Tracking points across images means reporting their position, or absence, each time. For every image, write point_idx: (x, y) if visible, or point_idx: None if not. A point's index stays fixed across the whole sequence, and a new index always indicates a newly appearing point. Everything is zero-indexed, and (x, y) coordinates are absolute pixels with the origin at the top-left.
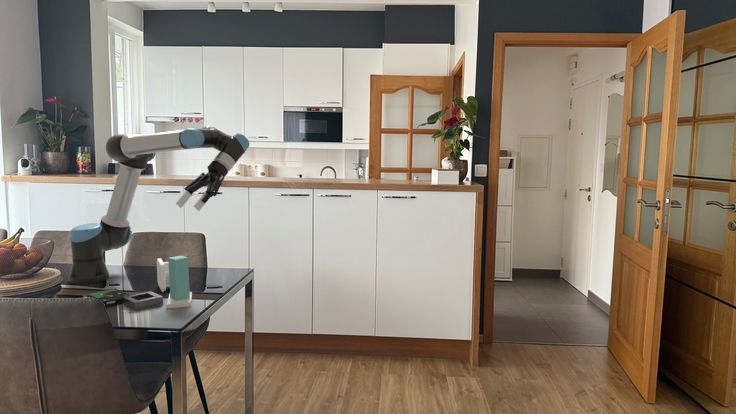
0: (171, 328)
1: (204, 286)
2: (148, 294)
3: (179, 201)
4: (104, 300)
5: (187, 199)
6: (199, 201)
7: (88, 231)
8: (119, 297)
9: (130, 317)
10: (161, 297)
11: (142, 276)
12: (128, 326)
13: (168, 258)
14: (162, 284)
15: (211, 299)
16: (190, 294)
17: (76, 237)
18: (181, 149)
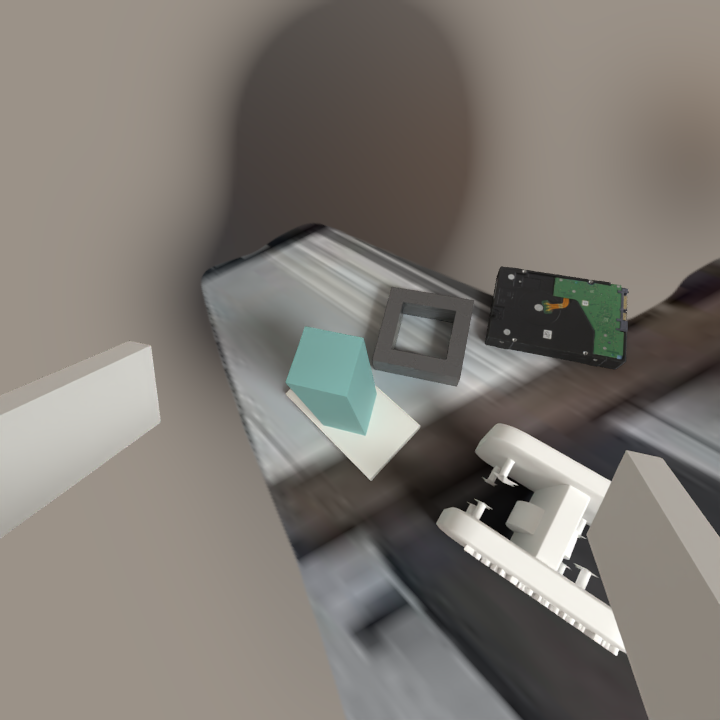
0: (218, 272)
1: (428, 606)
2: (440, 359)
3: (643, 505)
4: (509, 275)
5: (661, 717)
6: (46, 389)
7: None
8: (503, 311)
9: (360, 268)
10: (373, 357)
11: None
12: (312, 236)
13: (363, 339)
14: (482, 439)
15: (280, 479)
16: (347, 451)
17: None
18: None
